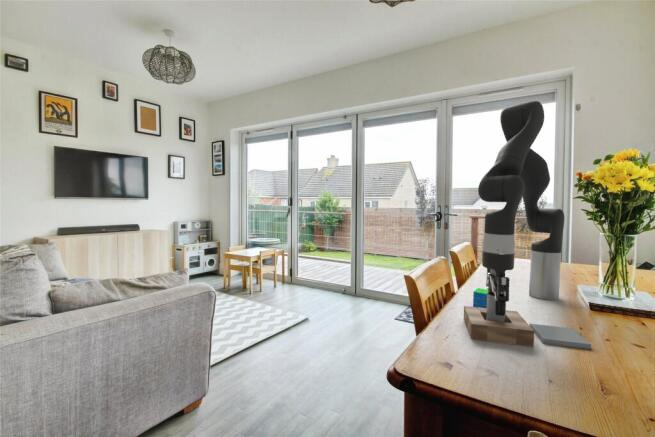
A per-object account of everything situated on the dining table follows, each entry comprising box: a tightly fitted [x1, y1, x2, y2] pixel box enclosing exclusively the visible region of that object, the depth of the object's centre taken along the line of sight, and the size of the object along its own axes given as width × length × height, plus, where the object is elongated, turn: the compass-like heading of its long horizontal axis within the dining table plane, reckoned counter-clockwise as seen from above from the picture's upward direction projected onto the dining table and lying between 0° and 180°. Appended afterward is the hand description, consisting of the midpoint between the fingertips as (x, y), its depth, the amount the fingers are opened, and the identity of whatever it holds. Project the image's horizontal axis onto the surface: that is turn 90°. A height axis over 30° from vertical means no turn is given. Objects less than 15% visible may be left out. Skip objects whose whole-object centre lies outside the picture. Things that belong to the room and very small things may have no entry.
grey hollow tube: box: [486, 292, 507, 322], centre depth 83 cm, size 4×4×10 cm
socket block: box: [463, 305, 535, 348], centre depth 83 cm, size 14×14×4 cm
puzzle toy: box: [472, 287, 488, 308], centre depth 102 cm, size 6×6×6 cm
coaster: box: [529, 323, 592, 350], centre depth 80 cm, size 10×10×1 cm
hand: (495, 309), depth 83 cm, fingers open, 8 cm apart
